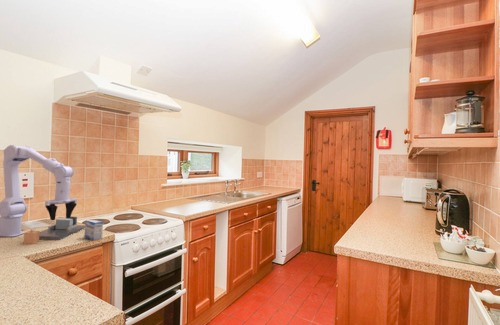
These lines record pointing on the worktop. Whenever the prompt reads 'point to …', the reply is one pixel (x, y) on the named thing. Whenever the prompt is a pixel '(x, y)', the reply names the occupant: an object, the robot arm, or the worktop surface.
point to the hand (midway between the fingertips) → (60, 218)
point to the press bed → (59, 232)
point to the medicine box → (93, 229)
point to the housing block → (31, 237)
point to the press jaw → (65, 222)
